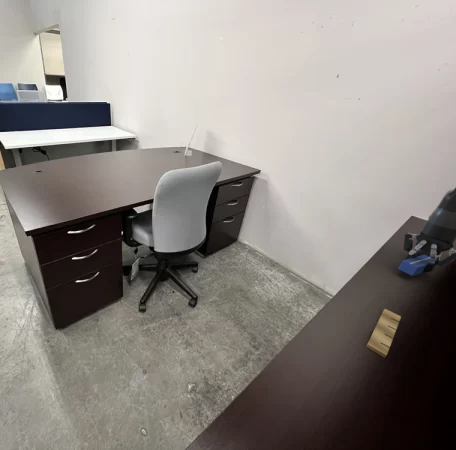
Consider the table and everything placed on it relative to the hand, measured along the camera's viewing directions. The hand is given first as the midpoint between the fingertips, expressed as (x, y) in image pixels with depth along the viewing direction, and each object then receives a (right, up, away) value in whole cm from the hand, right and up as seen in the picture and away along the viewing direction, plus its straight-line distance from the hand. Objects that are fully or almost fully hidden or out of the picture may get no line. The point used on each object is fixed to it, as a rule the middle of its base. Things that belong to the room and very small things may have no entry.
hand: (416, 267), depth 82 cm
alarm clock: (+10, +1, +10) cm, 14 cm away
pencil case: (0, -1, 0) cm, 1 cm away
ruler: (-31, -13, -21) cm, 39 cm away
